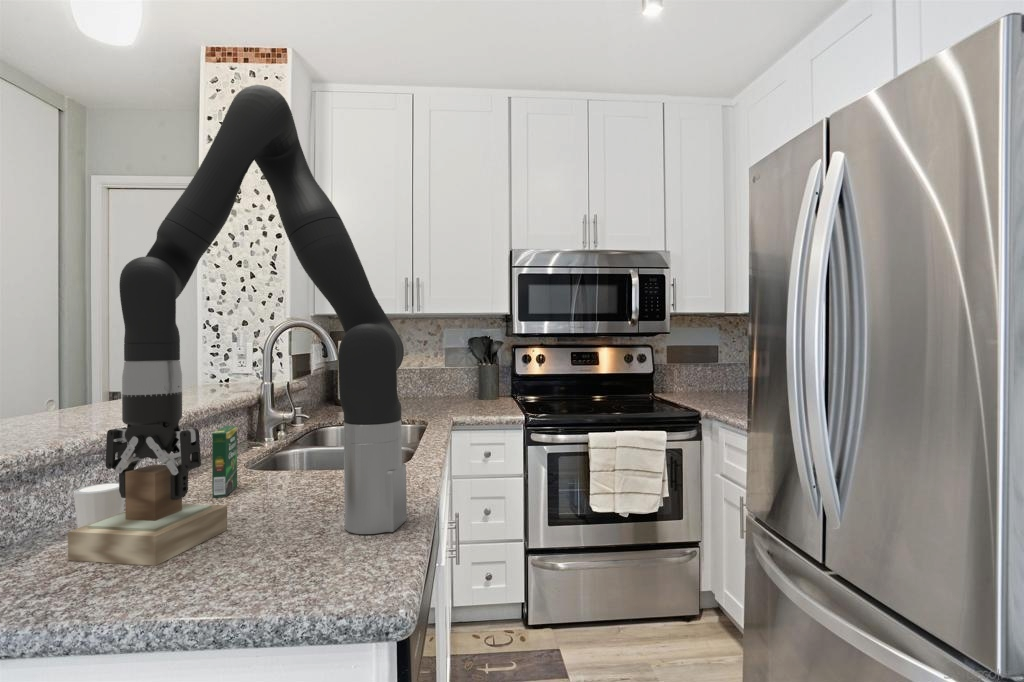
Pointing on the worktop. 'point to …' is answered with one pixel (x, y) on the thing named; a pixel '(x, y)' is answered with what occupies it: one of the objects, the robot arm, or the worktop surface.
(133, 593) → the worktop surface
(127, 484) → the walnut block
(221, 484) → the coffee box
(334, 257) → the robot arm
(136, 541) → the plinth
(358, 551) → the worktop surface
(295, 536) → the worktop surface
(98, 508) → the white cup
